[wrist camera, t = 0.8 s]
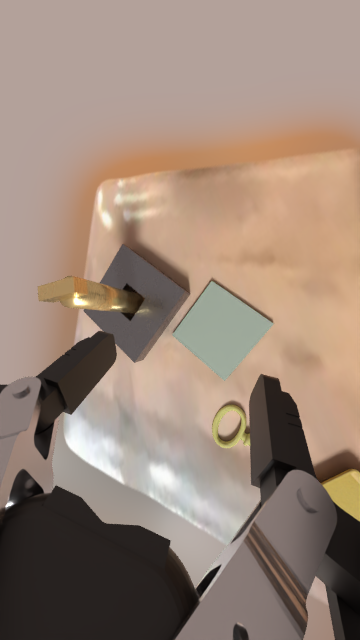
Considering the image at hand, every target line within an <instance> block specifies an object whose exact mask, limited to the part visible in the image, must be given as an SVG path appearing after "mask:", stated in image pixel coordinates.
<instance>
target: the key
mask: <svg viewBox="0 0 360 640" xmlns="http://www.w3.org/2000/svg"><path fill="white" fill-rule="evenodd" d="M230 410H234V411H236V412H237V413H238V414H239V415H240V416H241V426H240V429H239V431H238V433H237V435H236V436H235V437H234V438H233V439H232V440H230V441H227V442H226V441H223V440H221V439H220V438H219V436H218V426H219V422H220V420H221V418H222V417H223V416H224V415H225V414H226V413H227V412H228V411H230ZM245 428H246V416H245V413H244V411H243V410H242V409H241V408H240V407H238V406H236V405H227V406H224V407H223V408H221V409H220V410H219V411H218V413H217V414H216V416H215V418H214V421H213V424H212V433H213V438H214V440H215V442H216V443H217V444H218V445H219V446H221V447H223V448H230V447H233V446H234V445H236V444H237V442H238V441H239V440H240V439H241V440H243V441H244V445H245V446H246V445H249V446H250V433H248V434H246V433H245V432H244V431H245Z"/></svg>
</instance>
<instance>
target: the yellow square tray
mask: <svg viewBox="0 0 360 640" xmlns="http://www.w3.org/2000/svg"><path fill="white" fill-rule="evenodd" d="M321 484H322V485H323V487H324V488H325V489H326V490H327V492H328V493H329V495H330V497H331V499H332V500H333V502H335V503H336V504H337V505H338V506H339V507H340V508H342V509H343V510H344V511H346V512H347V513H348V514H350V515H351V516H353V517H354V518H355V519H357V520H358V521H360V472H359V471H358V470H356V469H348V470H346V471H344V472H342V473H340V474H338V475H336V476H334V477H332V478H330V479H328V480H326V481H324V482H322V483H321Z"/></svg>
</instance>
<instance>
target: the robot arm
mask: <svg viewBox="0 0 360 640" xmlns="http://www.w3.org/2000/svg"><path fill="white" fill-rule="evenodd" d="M116 356H117V353H116V346H115V339H114V335H113V334H110V333H107V332H103V331H98V332H97V333H95V334H94V335H93V336H92V337H91V338H90V337H88V338H86V339H84V340H82V341H80V342H78V343H77V344H76V345H74V346H73V347H72V348H71V350H69V351H67V352H66V353H65V355H62V356H61V357H60V358H59V359H57V360H56V361H55V362H54V363H52V364H51V365H50V366H49V367H47V368H46V369H45V370H44V371H42V373H40V374H39V375H38V376H36V377H25V378H21V379H19V380H16V381H14V382H12V383H11V384H9V385H0V640H303V638H304V635H305V631H306V627H307V621H308V613H307V610H306V599H307V595H308V593H309V590H310V588H311V585H312V583H313V580H314V578H315V576H317V577H318V578H319V579H320V580H321V581H322V582H323V583H324V584H325V586H326V591H327V597H328V603H329V608H330V614H331V620H332V625H333V630H334V636H335V640H360V521H358V520H357V519H355V518H354V517H353V516H351V515H350V514H348V513H347V512H346V511H344V510H343V509H342V508H340V507H339V506H338V505H337V504H336V503H335V502H333V500H332V499H331V497H330V495H329V493H328V492H327V490H326V489H325V488H324V487H323V485H322V484H321V483H320V482H319V481H318V480H317V477H316V475H315V472H314V469H313V465H312V461H311V458H310V454H309V450H308V446H307V443H306V439H305V435H304V431H303V429H302V424H301V420H300V419H299V417H300V416H299V412H298V409H297V405H296V403H295V402H294V400H293V399H292V397H291V396H290V394H289V393H286V392H282V391H281V386H280V381H279V379H278V378H274V377H270V376H267V375H263V374H261V375H260V376H259V378H258V380H257V382H256V385H255V387H254V389H253V391H252V393H251V397H250V402H249V415H250V454H251V485H253V486H256V487H258V488H260V493H261V500H260V501H259V503H258V504H257V506H256V507H255V508H254V510H253V511H252V512H251V514H250V515H249V516H248V518H247V519H246V521H245V522H244V523H243V525H242V526H241V527H240V529H239V530H238V532H237V533H236V534H235V536H234V537H233V538H232V540H231V541H230V542H229V544H228V545H227V546H226V547H225V549H224V550H223V551H222V552H221V553H220V555H219V556H218V557H217V559H216V560H215V561H214V562H213V564H212V565H211V567H210V568H209V569H208V571H207V572H206V573H205V575H204V576H203V577H202V579H201V580H200V581H199V583H198V584H197V586H196V587H195V588H194V585H193V583H192V581H191V579H190V576H189V574H188V572H187V571H186V569H185V567H184V565H183V563H182V562H181V560H180V559H179V558H178V556H177V555H176V554H175V553H174V552H173V551H172V549H171V548H170V547H169V546H170V540H168V539H166V538H164V537H162V536H160V535H158V534H156V533H154V532H152V531H150V530H147V529H145V528H143V527H141V526H138V525H121V524H106V523H104V522H102V521H101V520H100V519H99V517H98V516H97V515H96V514H95V513H94V512H93V511H92V509H90V507H89V506H88V505H87V504H86V502H85V501H84V500H83V499H82V498H81V497H79V496H77V495H75V494H73V493H71V492H69V491H67V490H65V489H62V488H60V487H58V486H55V488H54V489H53V490H52V488H53V469H52V457H53V452H54V446H55V440H56V433H57V428H58V422H59V418H58V416H59V415H60V414H61V413H62V412H65V413H68V414H72V413H73V412H74V411H75V410H76V408H77V407H78V406H79V405H80V404H81V402H82V401H83V400H84V399H85V398H86V396H87V395H88V394H89V393H90V392H91V390H92V389H93V388H94V387H95V386H96V384H97V383H98V382H99V381H100V380H101V378H102V377H103V376H104V375H105V374H106V372H107V371H108V370H109V369H110V368H111V366H112V365H113V364H114V362H115V360H116Z"/></svg>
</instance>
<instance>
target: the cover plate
mask: <svg viewBox="0 0 360 640" xmlns="http://www.w3.org/2000/svg"><path fill="white" fill-rule="evenodd" d="M100 284H104V285H108V286H111V287H115V288H119V289H123V290H126V291H130V292H132V291H133V289H134V290H136V291H137V292H138V293H139V294H140V295H141V296H143V297H144V298H145V300H144V302H143V303H142V305H141V306H140V308H139V309H138V311H137V312H136V314H135V315H134V316H133V315H131V314H130V313H125V312H114V311H102V310H91V309H84V312H85V313H86V314H87V315H88V316H89V317H90V318H91V319H92V320H93V321H94V322H95V323H96V324H97V325H98V326H99V327H100V328H101V329H102V330H103V331H104V332H107V333H110V334H113V335H114V339H115V343H116V344H117V345H118V346H119V347H120V348H121V349H122V350H123V351H124V353H125V354H126V355H127V356H128V357H129V358H130V359H131V360H132V361H133V362H134V363H135V362H138V361H141V360H143V359H144V358H145V357H146V355H147V354H148V352H149V351H150V350H151V348H152V347H153V345H154V344H155V343H156V341H157V340H158V338H159V337H160V336H161V334H162V333H163V331H164V330H165V329H166V327H167V326H168V324H169V323H170V322H171V320H172V319H173V317H174V316H175V315H176V313H177V312H178V310H179V309H180V308H181V306H182V305H183V303H184V302H185V301H186V299H187V298H188V296H189V295H190V293H189V292H187V291H186V290H185V289H183V288H182V287H181V286H179V285H178V284H177V283H175V282H174V281H173V280H171V279H170V278H169V277H167V276H166V275H165V274H163V273H162V272H161V271H159V270H158V269H157V268H155V267H154V266H153V265H152V264H150V263H149V262H148V261H146V260H145V259H144V258H142V257H141V256H140V255H138V254H137V253H136V252H134V251H133V250H132V249H130V248H128V247H127V246H125V245H124V244H122V246H121V248H120V249H119V251H118V253H117V255H116V256H115V258H114V260H113V261H112V263H111V265H110V267H109V268H108V270H107V272H106V273H105V275H104V277H103V278H102V280H101V282H100Z"/></svg>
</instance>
